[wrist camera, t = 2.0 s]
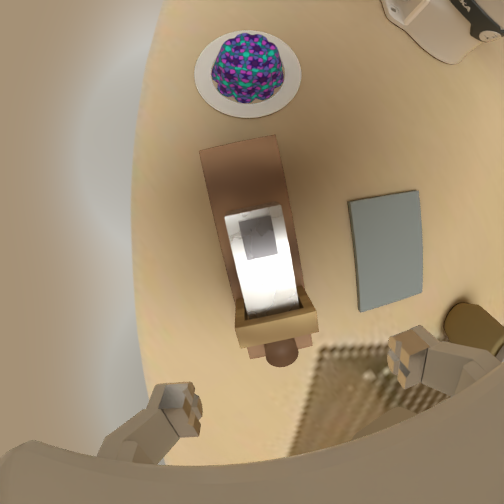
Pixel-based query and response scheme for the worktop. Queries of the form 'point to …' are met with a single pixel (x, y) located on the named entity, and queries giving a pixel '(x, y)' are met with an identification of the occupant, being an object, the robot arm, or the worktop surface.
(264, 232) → the lever cap
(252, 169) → the brown stand
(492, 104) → the worktop surface
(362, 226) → the rubber mat
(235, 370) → the worktop surface
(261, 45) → the pudding
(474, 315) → the squeeze bottle
